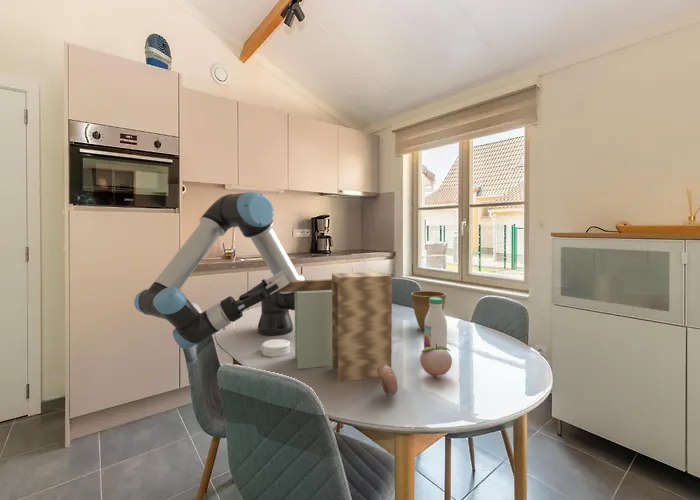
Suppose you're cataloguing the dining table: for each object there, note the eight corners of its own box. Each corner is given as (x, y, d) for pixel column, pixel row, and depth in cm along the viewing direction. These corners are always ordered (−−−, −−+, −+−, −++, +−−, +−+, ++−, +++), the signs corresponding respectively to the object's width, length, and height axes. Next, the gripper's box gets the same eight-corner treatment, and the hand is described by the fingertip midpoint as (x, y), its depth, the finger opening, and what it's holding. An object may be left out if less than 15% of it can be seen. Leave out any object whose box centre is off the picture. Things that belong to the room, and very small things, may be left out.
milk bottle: (447, 352, 122) (448, 296, 121) (445, 360, 114) (446, 301, 113) (425, 350, 124) (425, 295, 123) (422, 357, 117) (423, 299, 116)
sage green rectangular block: (298, 369, 107) (297, 293, 106) (295, 357, 117) (294, 288, 116) (335, 365, 110) (335, 291, 109) (329, 354, 120) (329, 286, 119)
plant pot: (449, 327, 153) (450, 292, 153) (439, 336, 141) (439, 297, 140) (418, 323, 161) (418, 289, 161) (405, 330, 149) (405, 294, 148)
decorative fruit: (432, 386, 95) (432, 350, 95) (415, 374, 103) (415, 342, 102) (458, 380, 99) (459, 346, 98) (440, 369, 106) (441, 338, 106)
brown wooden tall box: (339, 381, 98) (338, 277, 97) (332, 368, 108) (331, 273, 106) (391, 375, 102) (391, 275, 101) (380, 363, 112) (380, 271, 110)
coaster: (295, 349, 126) (294, 339, 126) (282, 358, 116) (281, 348, 116) (270, 346, 129) (270, 337, 129) (256, 355, 119) (256, 345, 119)
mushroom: (384, 387, 94) (384, 358, 94) (404, 392, 91) (404, 363, 91) (370, 398, 88) (370, 368, 88) (392, 404, 85) (392, 373, 84)
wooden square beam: (268, 292, 107) (268, 282, 107) (268, 290, 110) (268, 281, 110) (343, 289, 113) (343, 280, 113) (341, 287, 116) (341, 278, 116)
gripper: (235, 313, 118) (288, 281, 122) (228, 334, 94) (295, 292, 98) (223, 295, 117) (277, 263, 121) (213, 311, 93) (281, 270, 97)
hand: (285, 276), depth 110 cm, fingers open, 13 cm apart
